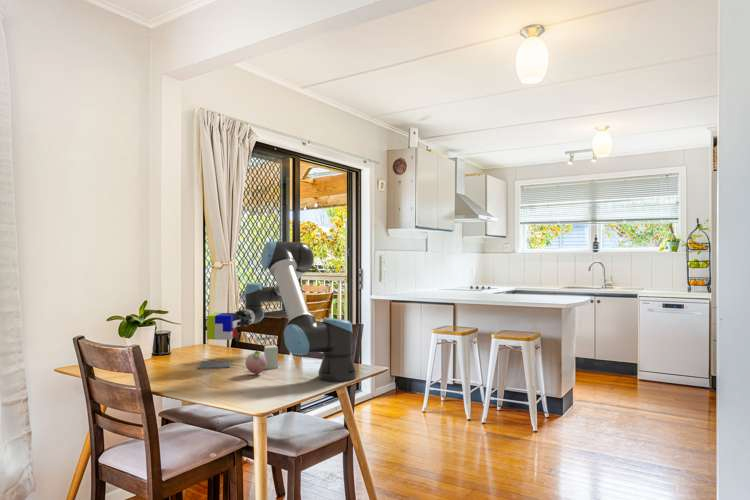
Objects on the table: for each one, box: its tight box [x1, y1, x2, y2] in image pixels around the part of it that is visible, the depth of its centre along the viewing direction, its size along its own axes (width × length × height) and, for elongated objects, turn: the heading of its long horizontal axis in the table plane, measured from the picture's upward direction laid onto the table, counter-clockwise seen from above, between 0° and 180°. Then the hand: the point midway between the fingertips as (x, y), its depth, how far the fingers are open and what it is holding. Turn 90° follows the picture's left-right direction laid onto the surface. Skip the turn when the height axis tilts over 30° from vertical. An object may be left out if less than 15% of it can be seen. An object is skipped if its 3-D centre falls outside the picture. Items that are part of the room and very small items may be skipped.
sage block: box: [263, 344, 279, 370], centre depth 220 cm, size 5×5×9 cm
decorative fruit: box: [245, 349, 267, 376], centre depth 206 cm, size 9×8×10 cm
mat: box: [197, 360, 233, 370], centre depth 224 cm, size 13×13×1 cm
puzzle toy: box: [206, 312, 239, 341], centre depth 219 cm, size 10×10×10 cm
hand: (219, 324), depth 217 cm, fingers closed on puzzle toy, 11 cm apart
